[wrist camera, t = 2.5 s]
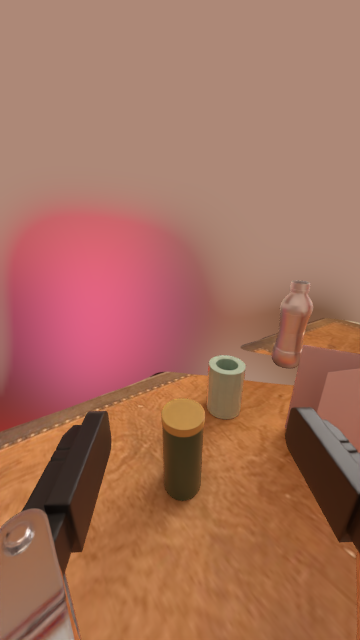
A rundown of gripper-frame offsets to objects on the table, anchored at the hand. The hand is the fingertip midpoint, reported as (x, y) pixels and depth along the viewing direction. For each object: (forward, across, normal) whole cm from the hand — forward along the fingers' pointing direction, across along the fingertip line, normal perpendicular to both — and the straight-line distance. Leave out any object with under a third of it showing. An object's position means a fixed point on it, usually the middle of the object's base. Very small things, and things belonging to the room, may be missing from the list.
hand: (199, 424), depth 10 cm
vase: (+25, -8, +22) cm, 34 cm away
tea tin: (+12, 0, +22) cm, 25 cm away
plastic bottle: (+39, -26, +22) cm, 52 cm away
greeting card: (+15, -21, +22) cm, 34 cm away
